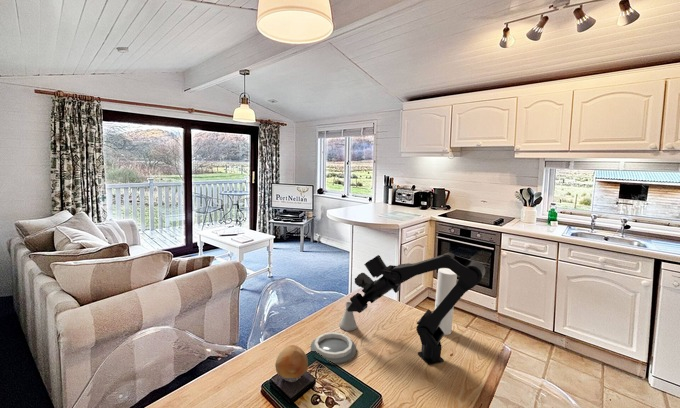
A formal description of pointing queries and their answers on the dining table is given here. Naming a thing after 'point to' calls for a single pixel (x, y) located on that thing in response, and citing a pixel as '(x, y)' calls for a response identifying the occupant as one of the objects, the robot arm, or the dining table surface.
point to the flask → (348, 320)
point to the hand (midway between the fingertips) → (353, 306)
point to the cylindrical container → (443, 288)
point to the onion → (291, 362)
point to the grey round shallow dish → (334, 347)
